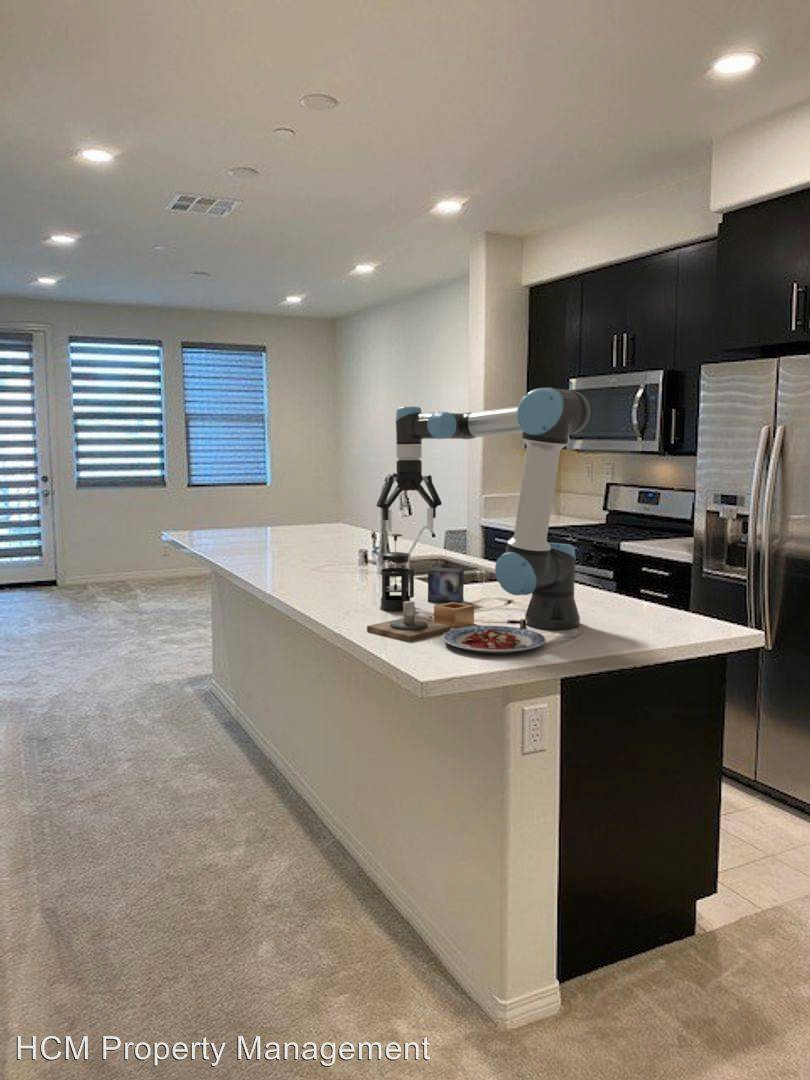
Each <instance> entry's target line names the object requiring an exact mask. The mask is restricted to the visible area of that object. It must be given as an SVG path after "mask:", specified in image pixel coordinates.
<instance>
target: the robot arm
mask: <svg viewBox="0 0 810 1080" xmlns="http://www.w3.org/2000/svg"><path fill="white" fill-rule="evenodd" d="M395 412H396V413H395V415H396V416H395V432H396V433H395V434H396V435H395V436H396V438H395V439H396V443H395V444H396V446H395V447H396V450H395V451H396V458H397V459H398V460H397V461H396V476H393V475H387V476H386V480H385V481H386V482H385V484H384V487H383V490H382V491H381V494H380V495H379V498H378V500H377V503H376V507H377V508H380V509H381V510H382V520H383V521H385V532H388V533H389V532H392V530H393V529H392V527H393V526H392V509H390V507H391V506H392V504H393V503H394V502H395V501H396V499H397V498H398V497H399V496H400V494H401V493H402V492H403V491H404V492H405V491H406V492H408V491H416V492H417V493H418V494H419V495H420V496H421V497H422V499H423V500H424V502H426V504H427V505H428V506H429V507H426V516H427V517H426V518H427V519H426V522H427V523H426V525H427V526H426V530H427V529H428V530H431V531H432V530H434V519H435V518H436V517H437V509H436V508H438V506H441V505H442V500H441V498H440V496H439V494H438V491H437V490H436V487H435V484H434V483H433V479H432V478H433V477H432V475H431V474H425V475H422V473H423V471H422V470H423V469H422V468H423V467H422V466H423V464H422V463H423V461H422V460H421V459H422V457H423V456H422V455H423V454H422V453H423V452H422V451H423V449H422V447H423V446H422V442H423V441H422V440H427V439H428V440H430V439H431V440H434V439H435V440H447V439H449V440H451V439H452V440H454V439H455V440H458V439H459V440H473V439H475V438H482V437H492V436H493V437H495V436H502V435H511V434H522V436H521V440H522V441H523V442H524V444H525V445H526V450H525V454H524V455H525V458H524V464H523V471H522V477H521V484H520V491H519V498H518V506H517V513H516V518H515V526H514V534H513V536H512V537H511V538H509V539H507V542H506V546H505V547H506V548H505V552H504V553H502V554H501V555H500V556H499V557H498V558H497V561H496V562H495V566H494V567H495V568H494V570H495V571H494V572H495V578H496V580H497V582H498V584H499V585H500V587H501V588H502V590H504V591H505V592H507V593H508V594H510V595H512V596H528V595H531V598H530V600H529V603H528V606H527V609H526V612H525V614H524V615H525V616H524V621H525V620H527V624H528V625H527V624H526V625H527V626H528V627H531V628H532V627H533V628H536V629H540V630H541V629H543V630H556V631H557V630H559V631H560V630H570V629H575V628H578V627H580V625H581V623H580V622H581V617H580V613H579V610H578V606H577V603H576V600H575V576H576V575H575V574H576V570H575V569H576V559H577V557H576V548H575V546H574V545H572V544H569V543H568V544H567V543H559V542H548V532H549V526H550V521H551V520H550V519H551V513H552V507H553V501H554V500H553V499H554V492H555V486H556V480H557V474H558V468H559V460H560V455H561V450H562V449H563V448H565V447H566V446H567V445H568V442H569V436H570V435H573V434H576V433H578V432H581V430H583V429H584V428H585V427H586V425H587V424H588V421H589V419H590V416H591V415H590V414H591V408H590V404H589V402H588V400H587V398H586V397H585V396H584V395H583V394H581V393H580V392H579V391H576V390H571V389H562V388H561V389H560V388H554V387H539V388H535V389H532V390H530V391H529V392H527V393H526V394H525V395H524V396H523V397H522V398H521V400H520V402H519V403H518V406H510V407H503V408H493V409H487V410H480V411H472V412H471V411H470V412H465V413H455V412H454V413H453V412H448V411H436V412H433V411H432V412H422V408H421V407H420V406H400V407H398V408H396V411H395ZM395 482H396V483H397V485H396V486H395V488H394V490H393V491H392V493H391V494H390V492H391V489H392V487H393V485H394V484H395ZM422 482H423V483H424V484H425V486H426V487H427V491H428V492H427V491H426V490H425V489H424V487H423V485H422V484H421V483H422ZM428 493H429V494H428ZM389 494H390V495H389ZM388 496H389V497H388Z"/></svg>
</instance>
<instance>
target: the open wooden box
mask: <svg viewBox="0 0 810 1080" xmlns="http://www.w3.org/2000/svg"><path fill="white" fill-rule="evenodd" d="M433 622H434V623H439V624H443V625H448V626H451V628H452V629H453V628H454V629H458V628H462V627H466V626H469V625H473V624H475V605H470V604H465V603H462V602H461V603H456V602H450V603H441V604H438V605H437V604H436V605H433Z"/></svg>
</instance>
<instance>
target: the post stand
mask: <svg viewBox="0 0 810 1080" xmlns="http://www.w3.org/2000/svg"><path fill="white" fill-rule="evenodd" d="M415 609H416V606H415V601H411V600H410V601H405V602H403V611H402V613H403V616H402V618H398V619H393V620H388V621H383V622H379V623H376V624H375V623H374V624H370V625H366V632H368V633H372V634H376V635H380V636H384V637H388V638H392V639H396V640H399V641H403V642H408V643H410V642H415V641H418V640H422V639H427V638H430V637H434V636H437V635H444V634H445V633H446V632H448V631H451V630H452V627H451V626H448V625H443V624H439V623H434V621H429V620H424V619H419V618H416V615H415V611H416V610H415Z"/></svg>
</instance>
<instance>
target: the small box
mask: <svg viewBox="0 0 810 1080" xmlns="http://www.w3.org/2000/svg"><path fill="white" fill-rule="evenodd" d="M464 573H465V569H464V568H455V567H454V568H453V567H452V568H451V567H437V566H435V567H434V566H433V567H431V568H430V569H428V570H427V602H429V603H441V604H446V603H450V602H456V603H461V604H462V603H463V602H464V585H465V583H464V575H465V574H464Z"/></svg>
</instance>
